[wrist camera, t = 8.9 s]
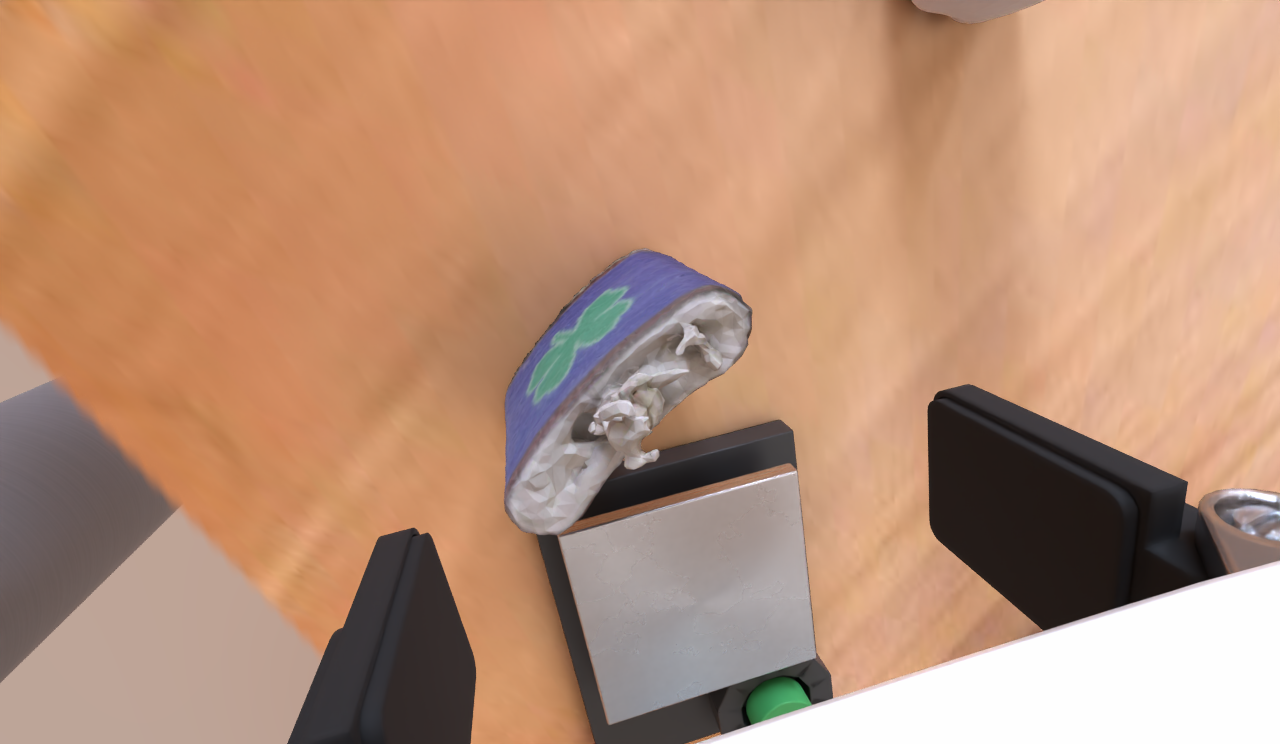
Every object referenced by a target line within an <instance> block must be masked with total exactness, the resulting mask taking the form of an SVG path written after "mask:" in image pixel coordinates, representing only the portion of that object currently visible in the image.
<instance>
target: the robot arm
mask: <svg viewBox="0 0 1280 744" xmlns="http://www.w3.org/2000/svg"><path fill="white" fill-rule="evenodd" d="M928 462H929V517H930V526H931V529H932V531H933V533H934V535H935V537H936V538H937V539H938V540H939V541H940V542H941V543H942V544H943V545H944V546H945V547H947V548H948V549H949V550H950V551H951V552H952V553H954V554H955V555H956V556H957V557H958V558H960V559H961V560H962V561H963V562H964V563H965V564H967V565H968V566H969V567H970V568H971V569H972V570H974V571H975V572H976V573H977V574H978V575H979V576H981V577H982V578H983V579H984V580H985V581H986V582H988V583H989V584H990V585H991V586H992V587H993V588H995V589H996V590H997V591H998V592H999V593H1000V594H1002V595H1003V596H1004V597H1005V598H1006V599H1007V600H1009V601H1010V602H1011V603H1012V604H1013V605H1014V606H1016V607H1017V608H1018V609H1019V610H1020V611H1021V612H1023V613H1024V614H1025V615H1026V616H1027V617H1028V618H1030V619H1031V620H1032V621H1033V622H1034V623H1035V624H1037V625H1038V626H1039V627H1040V628H1041V629H1042V630H1044V631H1042V632H1039V633H1036V634H1033V635H1029V636H1026V637H1023V638H1020V639H1017V640H1014V641H1010V642H1007V643H1004V644H1001V645H998V646H995V647H991V648H988V649H985V650H982V651H979V652H976V653H972V654H969V655H966V656H963V657H960V658H957V659H954V660H951V661H948V662H944V663H941V664H938V665H935V666H932V667H929V668H926V669H923V670H920V671H916V672H913V673H910V674H907V675H904V676H901V677H898V678H895V679H891V680H888V681H885V682H882V683H879V684H876V685H873V686H870V687H867V688H864V689H861V690H857V691H854V692H851V693H848V694H845V695H842V696H839V697H836V698H833V699H830V700H827V701H823V702H820V703H817V704H814V705H811V706H808V707H805V708H802V709H799V710H796V711H793V712H789V713H786V714H783V715H780V716H777V717H774V718H771V719H768V720H765V721H762V722H759V723H756V724H753V725H750V726H747V727H744V728H741V729H738V730H735V731H732V732H729V733H726V734H722V735H719V736H716V737H713V738H710V739H707V740H704V741H701V742H698V743H695V744H1280V493H1277V492H1271V491H1264V490H1257V489H1225V490H1217V491H1214V492H1212V493H1209V494H1207V495H1204V497H1203V498H1202V499H1201V500H1200V501H1199V506H1198V509H1197V508H1195V507H1193V506H1191V505H1189V504H1187V503H1185V498H1186V491H1187V485H1188V482H1187V481H1184V480H1182V479H1180V478H1178V477H1176V476H1173V475H1171V474H1169V473H1167V472H1164V471H1162V470H1160V469H1158V468H1156V467H1153V466H1151V465H1149V464H1147V463H1144V462H1142V461H1140V460H1138V459H1136V458H1133V457H1131V456H1129V455H1127V454H1124V453H1122V452H1120V451H1118V450H1116V449H1113V448H1111V447H1109V446H1107V445H1104V444H1102V443H1100V442H1098V441H1096V440H1093V439H1091V438H1089V437H1087V436H1084V435H1082V434H1080V433H1078V432H1076V431H1073V430H1071V429H1069V428H1067V427H1064V426H1062V425H1060V424H1058V423H1056V422H1053V421H1051V420H1049V419H1047V418H1044V417H1042V416H1040V415H1038V414H1036V413H1033V412H1031V411H1029V410H1027V409H1024V408H1022V407H1020V406H1018V405H1016V404H1013V403H1011V402H1009V401H1007V400H1005V399H1002V398H1000V397H998V396H996V395H993V394H991V393H989V392H987V391H985V390H982V389H980V388H978V387H976V386H973V385H970V384H967V385H962V386H958V387H955V388H951V389H947V390H943V391H939V392H938V393H937V394H936V395H935V397H934V400H933V401H932V402H930V403H929V406H928ZM475 683H476V667H475V660H474V656H473V652H472V649H471V647H470V644H469V641H468V638H467V635H466V632H465V630H464V627H463V624H462V621H461V618H460V615H459V613H458V610H457V607H456V604H455V601H454V598H453V596H452V593H451V590H450V587H449V584H448V581H447V579H446V576H445V573H444V570H443V567H442V564H441V562H440V559H439V556H438V553H437V550H436V548H435V545H434V542H433V539H432V537H431V535H430V534H429V533H425V534H421V535H420V534H419V532H418V531H417V529H415V528H411V529H407V530H403V531H399V532H395V533H392V534H388V535H384V536H381V537H379V538H378V540H377V542H376V545H375V547H374V550H373V552H372V555H371V558H370V560H369V563H368V565H367V568H366V570H365V573H364V575H363V578H362V581H361V583H360V586H359V588H358V591H357V593H356V596H355V599H354V601H353V604H352V606H351V609H350V611H349V614H348V617H347V619H346V622H345V624H344V627H343V628H341V629H338V630H337V631H335V632H334V634H333V635H332V637H331V639H330V641H329V643H328V645H327V648H326V650H325V653H324V655H323V658H322V660H321V663H320V665H319V667H318V670H317V672H316V675H315V677H314V680H313V682H312V685H311V687H310V690H309V692H308V694H307V697H306V700H305V702H304V704H303V707H302V709H301V712H300V714H299V717H298V719H297V721H296V724H295V726H294V729H293V731H292V734H291V736H290V738H289V741H288V743H287V744H470V743H471V731H472V719H473V707H474V695H475Z"/></svg>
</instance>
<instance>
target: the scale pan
mask: <svg viewBox="0 0 1280 744" xmlns="http://www.w3.org/2000/svg"><path fill="white" fill-rule="evenodd" d="M557 536H558V540H559V544H560V548H561V552H562V555H563V559H564V563H565V567H566V570H567V574H568V578H569V581H570V585H571V589H572V593H573V596H574V600H575V604H576V608H577V611H578V615H579V619H580V622H581V626H582V630H583V634H584V637H585V641H586V645H587V649H588V652H589V656H590V660H591V663H592V667H593V671H594V675H595V678H596V682H597V686H598V690H599V693H600V697H601V701H602V704H603V708H604V712H605V716H606V719H607V723H608V724H609V725H612V724H615V723H618V722H621V721H624V720H627V719H630V718H633V717H636V716H639V715H642V714H645V713H649V712H652V711H655V710H658V709H661V708H664V707H667V706H670V705H673V704H676V703H679V702H682V701H686V700H689V699H692V698H695V697H698V696H701V695H704V694H707V693H710V692H713V691H716V690H719V689H722V688H726V687H729V686H732V685H735V684H738V683H741V682H744V681H747V680H750V679H753V678H756V677H759V676H763V675H766V674H769V673H772V672H775V671H778V670H781V669H784V668H787V667H790V666H793V665H796V664H799V663H803V662H806V661H809V660H812V659H815V658H817V654H816V644H815V635H814V625H813V615H812V606H811V596H810V587H809V577H808V567H807V558H806V548H805V538H804V529H803V519H802V510H801V500H800V490H799V481H798V471H797V470H796V469H795V468H794V467H793V466H792V465H791V464H790V463H787V464H783V465H780V466H776V467H772V468H769V469H765V470H761V471H758V472H754V473H750V474H747V475H743V476H739V477H736V478H732V479H729V480H725V481H721V482H718V483H714V484H710V485H707V486H703V487H699V488H696V489H692V490H688V491H685V492H681V493H677V494H674V495H670V496H667V497H663V498H659V499H656V500H652V501H648V502H645V503H641V504H637V505H634V506H630V507H626V508H623V509H619V510H616V511H612V512H608V513H605V514H601V515H597V516H594V517H590V518H586V519H583V520H579V521H576V522H575V523H574V524H573V525H572V526H571V527H570V528H569V529H567V530H566V531H564V532H563V533H561V534H559V535H557Z"/></svg>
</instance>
